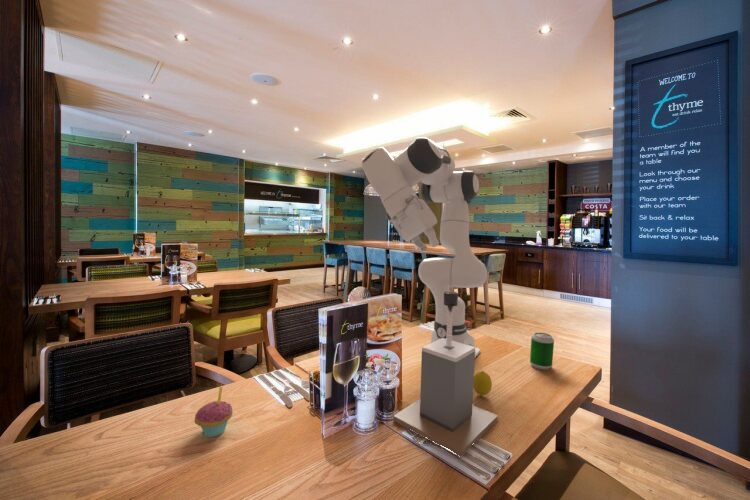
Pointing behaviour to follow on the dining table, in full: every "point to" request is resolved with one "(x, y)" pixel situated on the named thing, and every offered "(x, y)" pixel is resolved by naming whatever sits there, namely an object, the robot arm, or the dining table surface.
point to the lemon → (482, 383)
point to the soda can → (541, 351)
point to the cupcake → (214, 416)
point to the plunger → (450, 314)
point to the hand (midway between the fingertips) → (430, 248)
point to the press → (447, 399)
